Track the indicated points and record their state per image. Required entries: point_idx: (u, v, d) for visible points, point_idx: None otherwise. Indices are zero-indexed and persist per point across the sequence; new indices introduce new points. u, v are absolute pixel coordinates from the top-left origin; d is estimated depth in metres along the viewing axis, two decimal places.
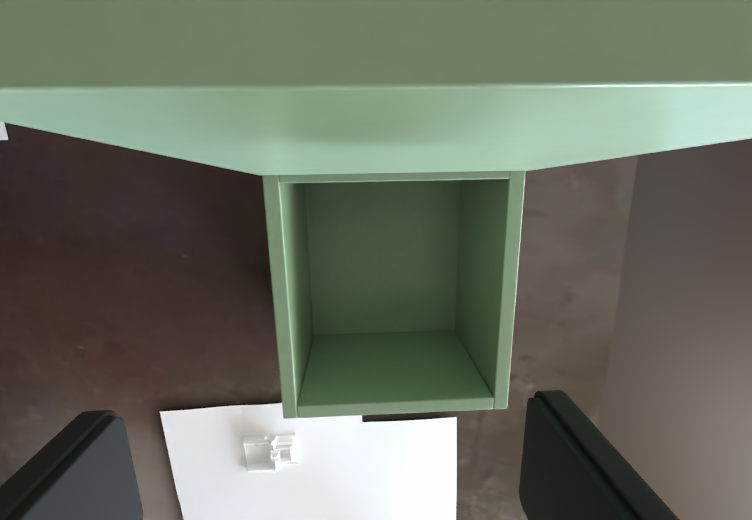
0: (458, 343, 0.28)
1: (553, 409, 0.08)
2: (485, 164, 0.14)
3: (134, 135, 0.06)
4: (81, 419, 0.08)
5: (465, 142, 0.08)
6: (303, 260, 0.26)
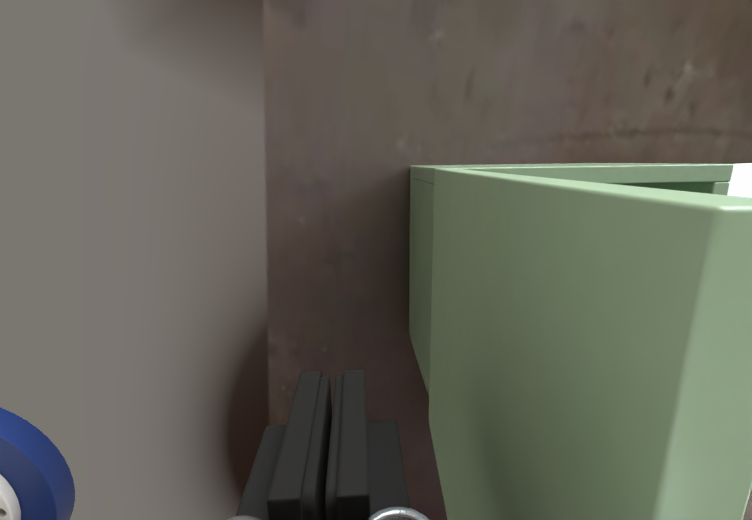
0: None
1: (343, 385, 0.09)
2: None
3: None
4: (305, 377, 0.09)
5: None
6: None
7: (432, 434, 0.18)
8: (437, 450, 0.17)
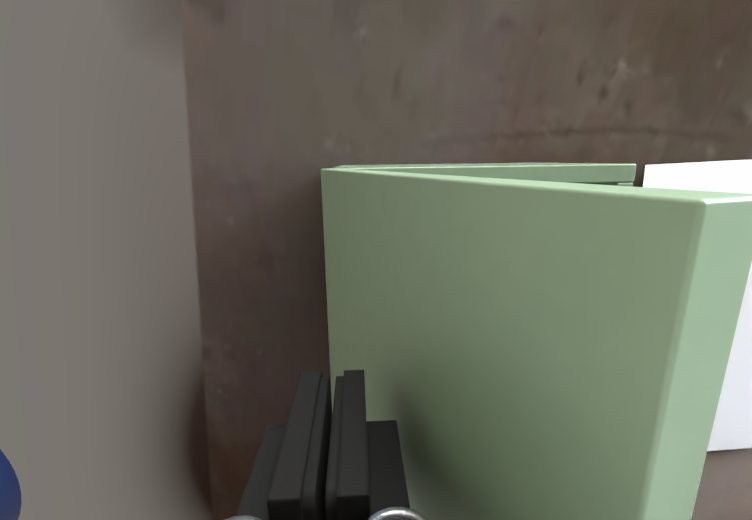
0: None
1: (343, 385, 0.09)
2: None
3: None
4: (305, 377, 0.09)
5: None
6: None
7: None
8: None
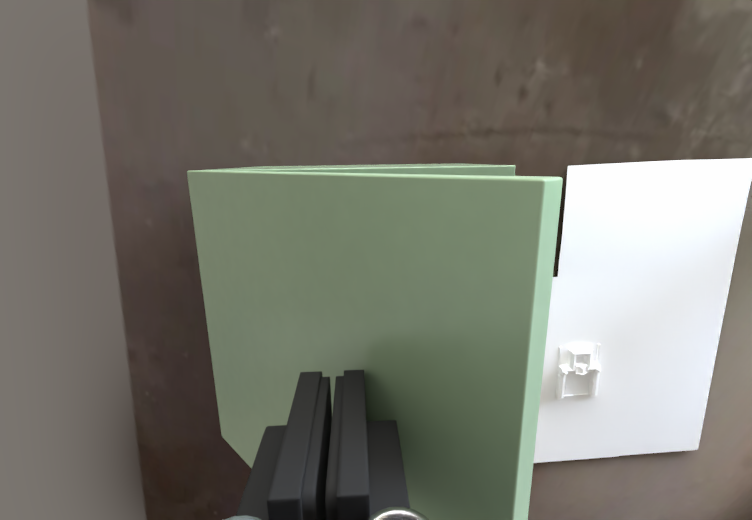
0: None
1: (343, 385, 0.09)
2: None
3: None
4: (305, 377, 0.09)
5: None
6: None
7: (234, 444, 0.18)
8: (249, 453, 0.17)
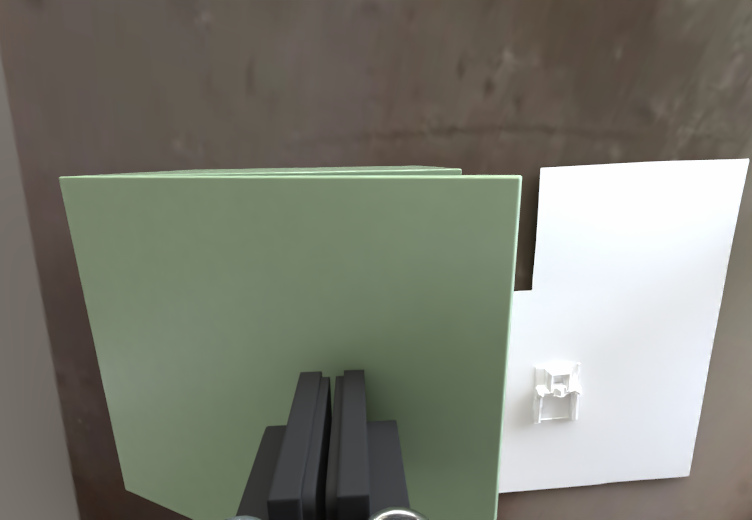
0: None
1: (343, 385, 0.09)
2: None
3: None
4: (305, 377, 0.09)
5: None
6: None
7: (148, 492, 0.15)
8: (175, 495, 0.15)
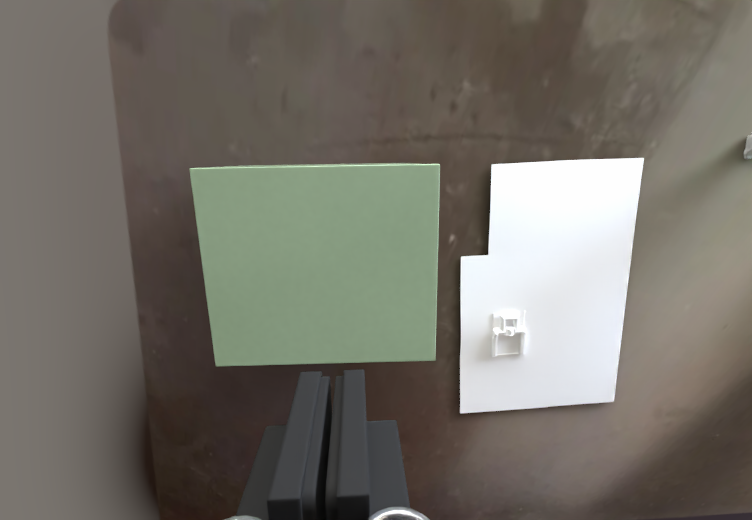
0: None
1: (343, 385, 0.09)
2: None
3: None
4: (305, 377, 0.09)
5: None
6: None
7: (237, 360, 0.25)
8: (260, 353, 0.25)
